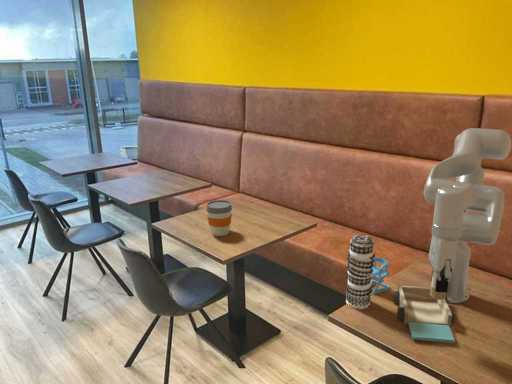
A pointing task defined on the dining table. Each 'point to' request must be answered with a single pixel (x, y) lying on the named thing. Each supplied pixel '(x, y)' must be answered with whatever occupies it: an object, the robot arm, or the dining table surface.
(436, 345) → the dining table surface
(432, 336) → the tailgate
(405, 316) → the cargo bed
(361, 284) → the black white patterned cylinder
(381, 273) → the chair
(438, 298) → the sprinkles bottle
